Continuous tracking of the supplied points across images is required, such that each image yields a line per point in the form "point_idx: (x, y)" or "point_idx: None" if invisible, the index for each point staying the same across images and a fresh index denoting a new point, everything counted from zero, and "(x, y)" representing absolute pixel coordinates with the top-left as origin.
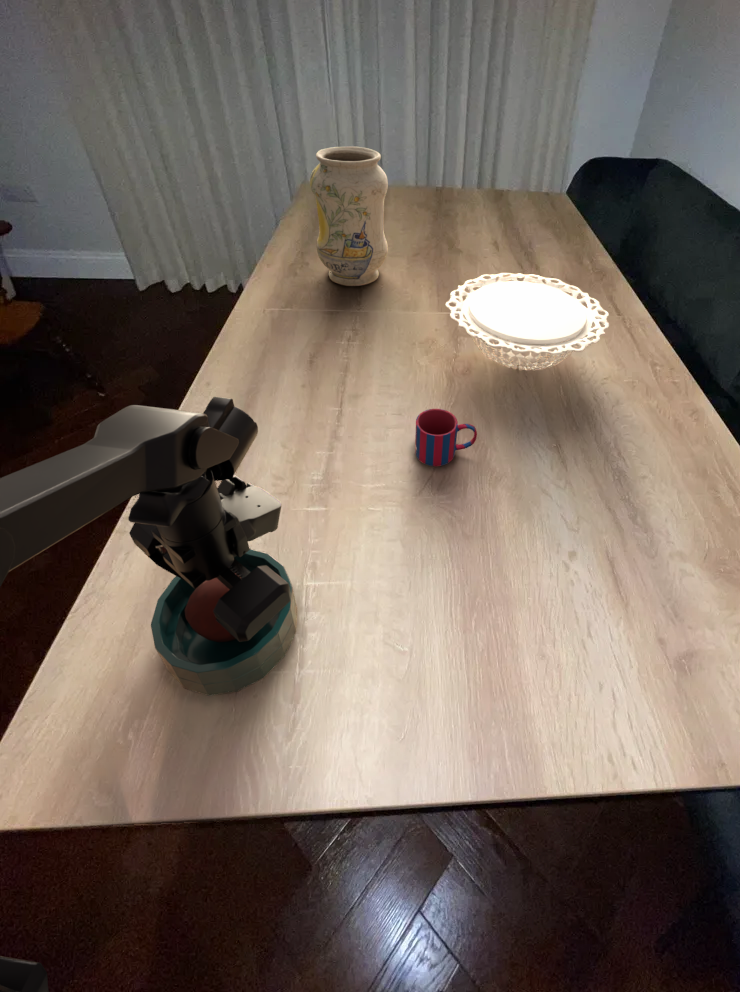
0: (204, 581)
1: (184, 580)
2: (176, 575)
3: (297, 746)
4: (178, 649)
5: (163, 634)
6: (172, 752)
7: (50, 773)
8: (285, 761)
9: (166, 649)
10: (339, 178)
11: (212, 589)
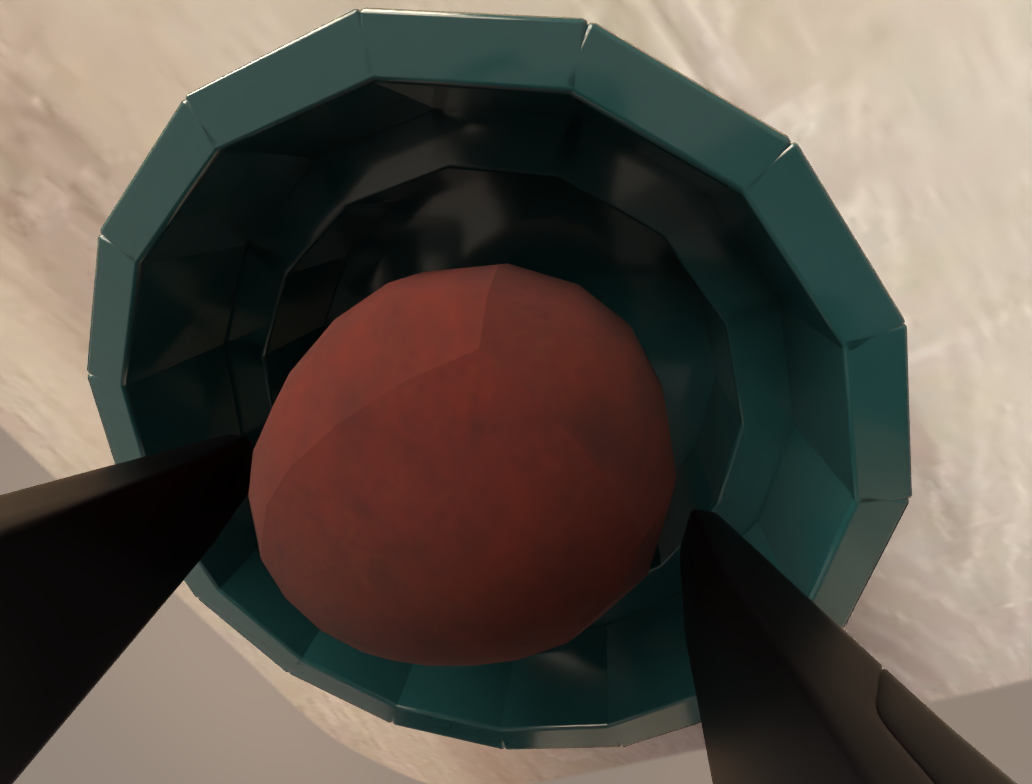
0: (246, 446)
1: (160, 606)
2: (76, 705)
3: (1005, 561)
4: None
5: None
6: None
7: (437, 749)
8: (981, 601)
9: (432, 719)
10: None
11: (349, 616)
